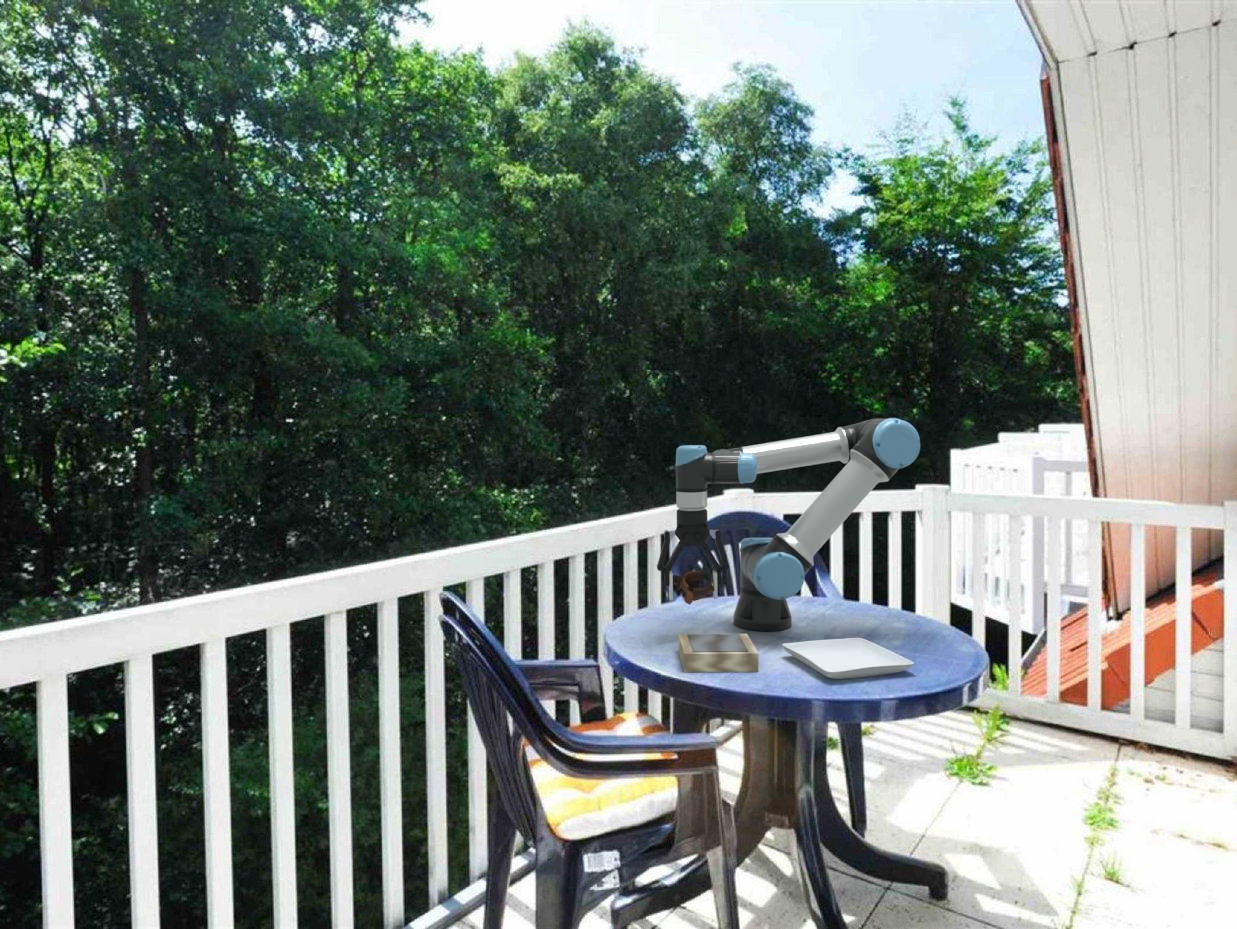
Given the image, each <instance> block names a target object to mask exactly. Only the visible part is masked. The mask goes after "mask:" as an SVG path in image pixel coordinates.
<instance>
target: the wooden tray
mask: <svg viewBox="0 0 1237 929" xmlns="http://www.w3.org/2000/svg"><path fill="white" fill-rule="evenodd" d="M677 643H678V646H677V647H678V654H679V658H680V661H681V666H682V669H683V672H684V673H717V672H718V673H731V672H732V673H733V672H734V673H735V672H736V673H737V672H738V673H748V672H749V673H750V672H755V673H758V672H759V662H760V661H759V656H760V655H759V652H758V650H757V648H756V646H755V645H754V644H753V643H754V642H752V640H751V639H750V637H749V635H748V634H747V633H678V642H677Z"/></svg>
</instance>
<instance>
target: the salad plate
mask: <svg viewBox="0 0 1237 929" xmlns="http://www.w3.org/2000/svg"><path fill="white" fill-rule="evenodd" d="M781 646H782V647H783V649H784V650H785V651H786V652H787V653H788V655H790V656H792V657H794V658H795V659H797V660H799V662H802V663H803V664H804V665H807V666H808V667H810V668H812V669H813V670H815V671H816V672H818V673H821V674H822V675H823V676H825V677H826V678H828V679H832V680H844V679H855V678H856V679H857V678H865V677H875V676H884V675H889V674H897V673H901V672H904V671H907V670H909V669H911V668H912V667H913V666H914V665H915V661H912V660H910V659H908V658H906V657H904V656H902V655H900V654H897V653H895V652H893V651H891V650H889V649H887V648H885V647H883V646H881V645H879V644H877V643H874V642H873V641H869V640H867V639H865V638H861V637H849V638H847V637H846V638H832V639H819V640H808V641H807V640H806V641H797V642H786V643H782V644H781Z"/></svg>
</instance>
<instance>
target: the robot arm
mask: <svg viewBox="0 0 1237 929" xmlns="http://www.w3.org/2000/svg"><path fill="white" fill-rule="evenodd" d="M920 439H921V438H920V436H919V433H918V431H917V429H916V428H915V427H914V425H912V424H911V423H910V422H908V421H906V420H903V419H900V418H896V417H889V418H877V417H876V418H871V419H868V420H864V421H860V422H857V423H854V424H850V425H849V424H848V425H845V426H838V427H837V428H836V430H834V431H833V432H825V433H820V434H814V435H808V436H803V437H802V436H801V437H795V438H790V439H789V438H788V439H783V440H776V441H769V442H765V443H759V444H752V445H747V446H740V447H735V448H728V449H725V448H721V449H717V450H715V451H713V452H708V450H707V446H706V445H701V444H699V445H698V444H697V445H696V444H695V445H693V444H690V445H688V444H685V445H679V447H677V448H676V450H675V451H676V452H675V453H676V454H675V464H674V465H675V485H676V486H675V489H676V492H675V494H676V499H675V500H676V502H675V503H676V508H678V509H677V510H676V528H675V530H669V529H666V530H664V531H663V535H664V541H663V544H662V547H661V550H660V553H659V557H658V561H657V564H656V569H657V571H658V572H663V575H664V576H663V577H664V578H663V579H664V586H666V587H668V596H669V598H668V599H669V601H673V600H674V591H673V575H674V574H673V571H671V570H672V568H673V566H674V565H675V564H676V561H677V559H678V558H679V556H680V555H681V553H682V551H683V550H684V548H685V547H686V548H691V547H695V548H697V547H702V549H703V551H704V552H705V554H706V555H707V557H708V558H709V560H710V562H711V563H712V565H713V566H714V568H715V570H712V585H713V587H714V591H712V597H713V599H714V600H718V596H719V594H718V586H720V585H722V582H723V581H722V580H723V578H722V576H723V575H722V573H723V572H724V571H725V570H729V569H730V564H729V562H728V559H727V556H726V555H727V554H726V553H725V550H724V546H723V544H722V541H721V537H722V536H721V535H722V532H721V530H720V529H718V528H717V529H710V528H709V526H708V522H709V521H708V510H707V509H706V508H707V507H708V485H709V484H710V485H711V484H712V485H714V484H741V485H742V484H750V483H754V482H755V480H756V479H757V475H758V474H764V473H770V472H777V471H782V470H789V469H794V468H801V467H807V466H808V467H809V466H813V465H821V464H826V463H827V464H828V463H832V462H833V463H834V462H838V461H839V462H841V463H842V464H845V466H844V467H842V469H841V470H840V471H839V472H838V473H837V474H836V476H835V477H834V478H833V479H832V480H831V481H830V482H829V484H828V485H827V486H826V487H825V488H824V489H823V491H821V493H820V494H818V496H817V497H816V498H815V500H813V501H812V503H811V504H810V505H809V506H808V508H806V509H805V511H804V512H803V513H802V514H800V515H801V516H799V518H797V520H796V521H795V522H794V523H793V524H792V525H791V527H790V528H789V529H788V530H787V531H786V532H782V533H776V535H774V536H773V537H745V538H743V539H742V540H741V541H740V547H739V552H740V558H739V559H740V561H739V562H740V567H739V568H740V569H739V570H740V575H739V576H740V577H739V578H740V581H739V582H740V594H739V598H738V600H737V603H736V607H735V610H734V612H733V624H734V625H735V626H736V627H738V628H741V629H745V630H751V631H758V632H774V631H776V632H777V631H782V630H783V631H784V630H786V629H789V628H790V627H792V626H793V625H792V624H793V623H792V622H793V619H792V617H793V616H792V614H791V611H790V607H789V604H788V601H787V600H788V599H789V598H792V597H794V596H796V594H797V593H799V591H800V590H801V588H802V587H803V585H804V582H805V576H806V575H807V573H808V572H809V571H810V570H811V569H812V568H813V567H814V564H815V563H814V556H815V555H816V553H818V551H819V550H820V549H821V548H822V547H823V546H824V544H826V542H827V541H828V540H829V539H830V538H831V537H832V536H833V534H834V533H835V532H837V530H838V529H839V528H840V527H841V525H842V524H844V522H845V521H846V520H847V519H848V517H849V516H850V515H852V513H853V512H854V510H856V509H857V507H859V505H860V504H861V503H862V501H863V500H864V499H865V498H866V497H867V496H868V495H869V494H870V492H871V491H873V489H874V488H875V487H877V486H876V485H878V484H879V483H886V482H889V481H890V480H891V479H892V478H893V476H894V475H895V474H896V473H897V472H898V470H900V469H903V468H906V467H908V466H910V465H911V464H912V463H914V461H916V459H917V458H918V456H919V454H920V451H921V440H920ZM709 535H710V536H711V538H713V540H714V542H715V546H716V549H717V551H718V555H719V558H720V561H721V564H719V562H718V561H717V559H716V558H715V555H714V554H713V553H712V551H711V549H710V547H709V546H708V544H707V543H706V540H707V539H708V537H709ZM674 536H675V537H676V538H677V539H678V540H679V541H678V543H677V545H676V546H675V549H674V551H673V553H672V554H671V556H670V558H669V559H668V561H667V562H666V565H664V564H665V560H666V557H667V553H668V550H669V546H670V542H671V540H673V538H674Z"/></svg>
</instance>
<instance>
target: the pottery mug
mask: <svg viewBox="0 0 1237 929" xmlns="http://www.w3.org/2000/svg"><path fill="white" fill-rule="evenodd" d="M703 580H706V581H707V582H708V584H707V585H706V586H704V587H701V586H700V582H702V581H703ZM713 591H714V587H713V579H712V578H711V576H710V575H709V574H707V573H705V572H702V571H699V570H691V571H688V572H686V573H684V574H683V575H682V577H681V576H679V575H677V574H673V593H675V595H676V597H679V596H682V598H684V603H685V604H687V605H691V604H692V603H693V602H696V601H699V600H702V599H706V598H708V596H710V595H712V594H713Z"/></svg>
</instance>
